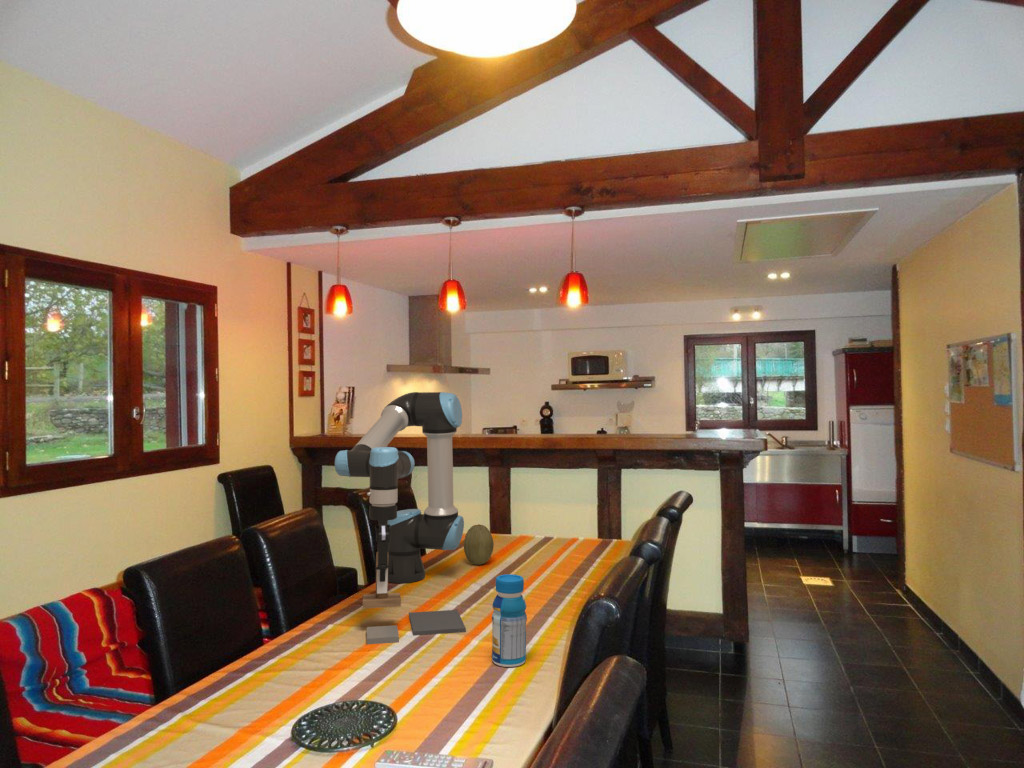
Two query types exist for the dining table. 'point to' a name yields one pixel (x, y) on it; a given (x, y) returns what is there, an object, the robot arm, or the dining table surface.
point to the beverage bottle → (509, 622)
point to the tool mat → (436, 622)
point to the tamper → (381, 597)
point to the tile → (382, 634)
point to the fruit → (478, 544)
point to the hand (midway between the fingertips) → (381, 590)
